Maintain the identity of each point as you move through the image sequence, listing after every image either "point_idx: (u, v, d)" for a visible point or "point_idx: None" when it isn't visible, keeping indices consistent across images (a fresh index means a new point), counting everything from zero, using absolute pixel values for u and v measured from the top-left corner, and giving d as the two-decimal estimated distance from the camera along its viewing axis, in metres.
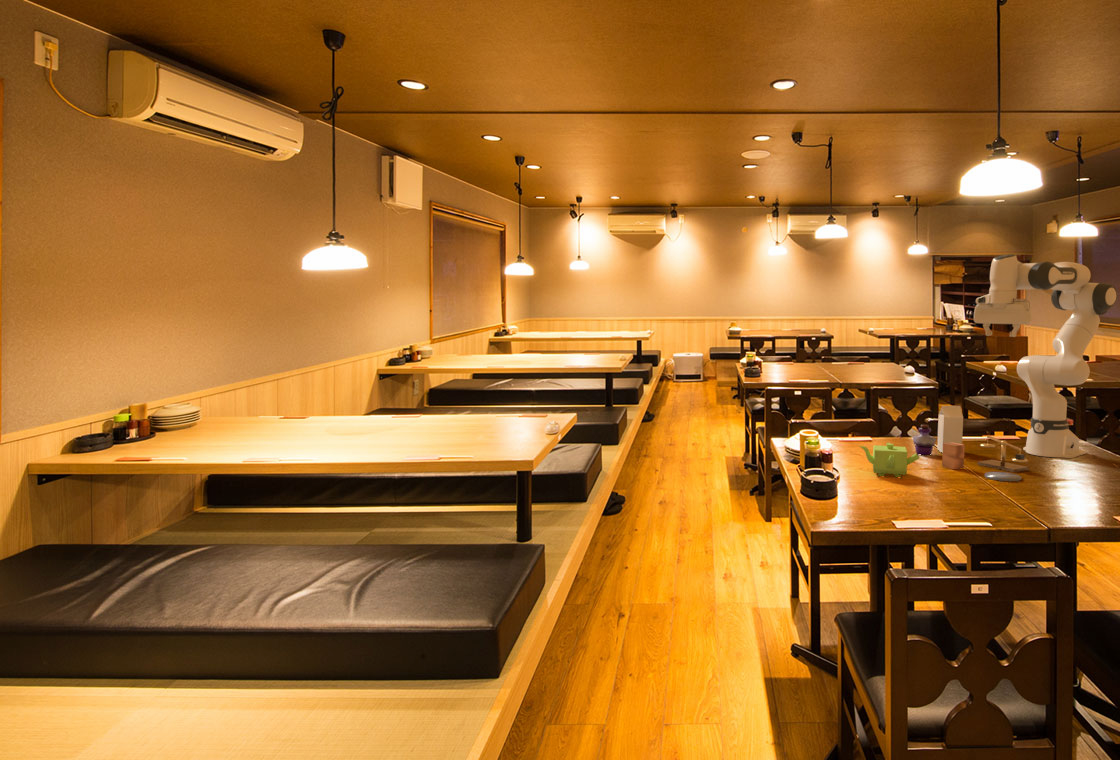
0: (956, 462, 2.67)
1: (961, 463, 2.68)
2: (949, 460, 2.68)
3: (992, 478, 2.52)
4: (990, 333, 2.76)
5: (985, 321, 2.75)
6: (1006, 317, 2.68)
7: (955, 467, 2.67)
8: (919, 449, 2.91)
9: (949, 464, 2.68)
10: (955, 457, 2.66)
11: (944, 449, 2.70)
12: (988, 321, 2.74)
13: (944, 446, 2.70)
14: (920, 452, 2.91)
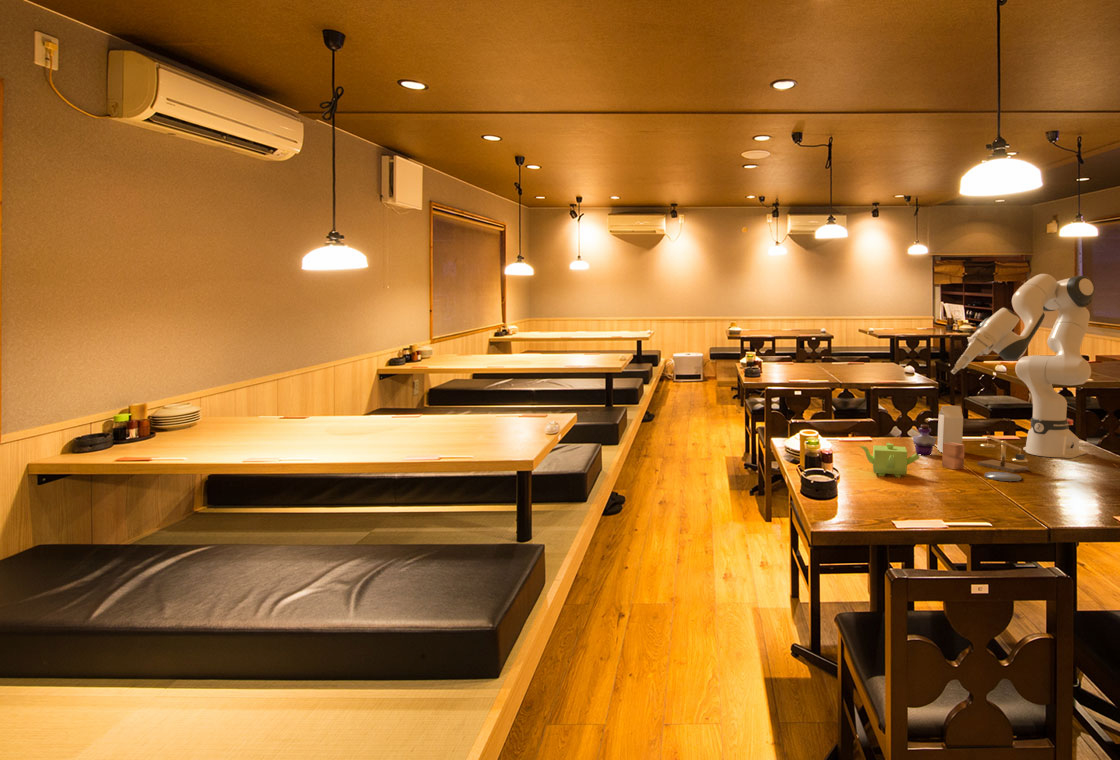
0: (956, 462, 2.67)
1: (961, 463, 2.68)
2: (949, 460, 2.68)
3: (992, 478, 2.52)
4: None
5: (971, 360, 2.71)
6: None
7: (955, 467, 2.67)
8: (919, 449, 2.91)
9: (949, 464, 2.68)
10: (955, 457, 2.66)
11: (944, 449, 2.70)
12: (970, 360, 2.72)
13: (944, 446, 2.70)
14: (920, 452, 2.91)
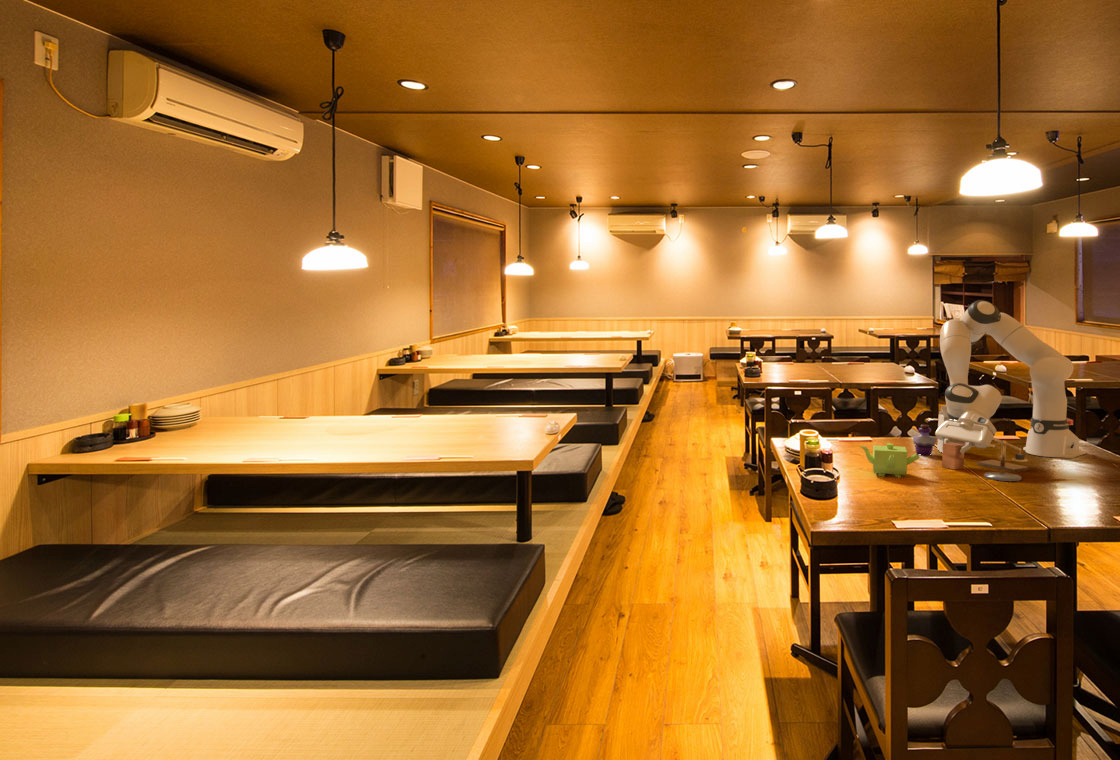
0: (956, 462, 2.67)
1: (961, 463, 2.68)
2: (949, 460, 2.68)
3: (992, 478, 2.52)
4: None
5: None
6: None
7: (955, 467, 2.67)
8: (919, 449, 2.91)
9: (949, 464, 2.68)
10: (955, 457, 2.66)
11: (944, 449, 2.70)
12: None
13: (944, 446, 2.70)
14: (920, 452, 2.91)
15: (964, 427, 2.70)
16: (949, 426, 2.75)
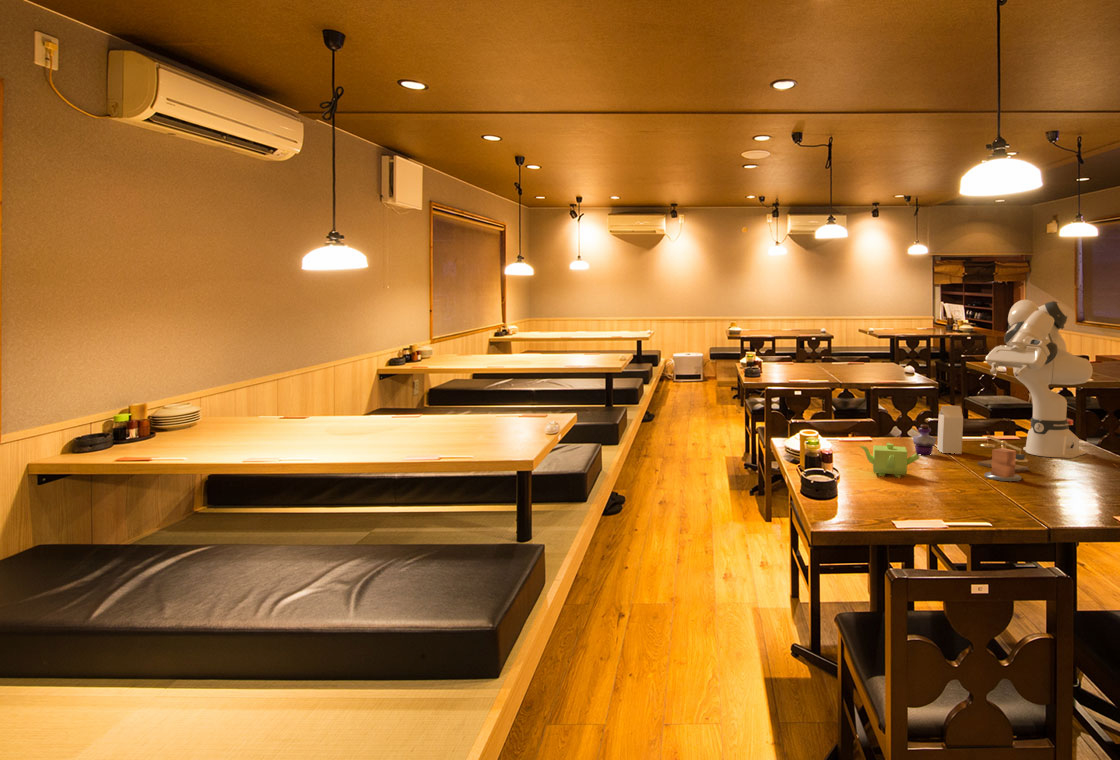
0: (1007, 469, 2.51)
1: (1013, 470, 2.52)
2: (1000, 467, 2.52)
3: (992, 478, 2.52)
4: None
5: None
6: None
7: (1006, 475, 2.51)
8: (919, 449, 2.91)
9: (1000, 472, 2.52)
10: (1006, 464, 2.50)
11: (994, 455, 2.54)
12: None
13: (994, 452, 2.54)
14: (920, 452, 2.91)
15: (1016, 350, 2.69)
16: (1000, 351, 2.74)
